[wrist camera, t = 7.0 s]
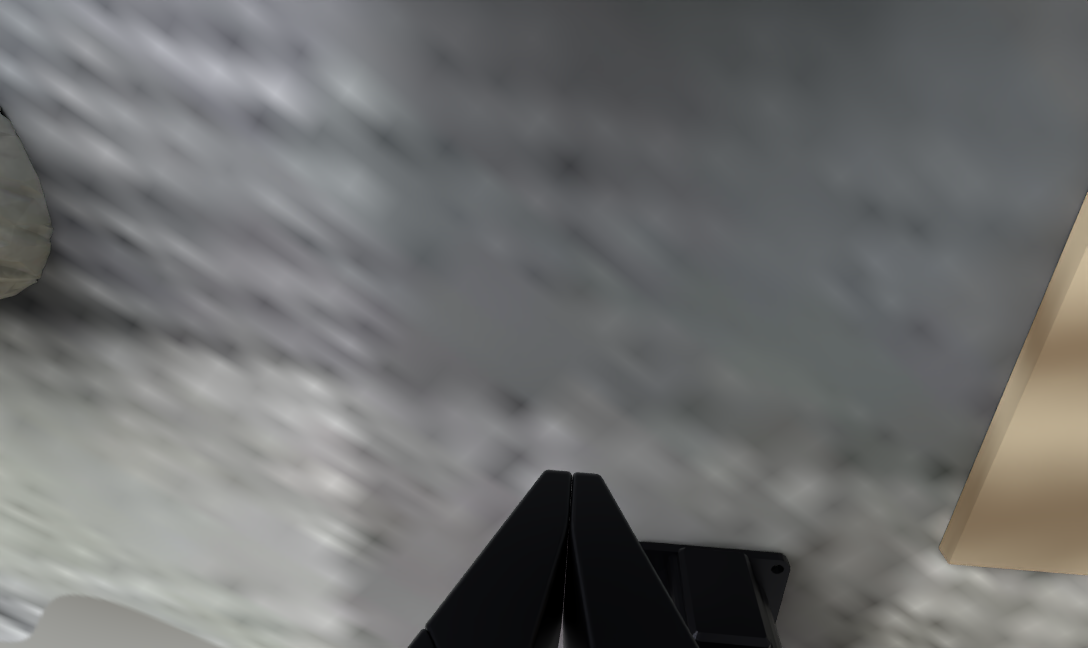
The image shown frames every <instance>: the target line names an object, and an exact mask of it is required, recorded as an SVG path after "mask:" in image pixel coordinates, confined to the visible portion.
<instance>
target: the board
mask: <svg viewBox="0 0 1088 648" xmlns="http://www.w3.org/2000/svg"><path fill="white" fill-rule="evenodd" d="M939 550H940V551H941V553H942V554H943V556H944V557H945V559H946V560H947V562H948V563H949V564H955V565H967V566H979V567H991V568H1004V569H1016V570H1028V571H1041V572H1053V573H1065V574H1077V575H1088V192H1087V195H1086V197H1085V200H1084V202H1083V204H1082V207H1081V209H1080V212H1079V214H1078V216H1077V219H1076V221H1075V224H1074V226H1073V228H1072V231H1071V233H1070V235H1069V238H1068V240H1067V243H1066V245H1065V247H1064V250H1063V252H1062V255H1061V257H1060V259H1059V262H1058V264H1057V267H1056V269H1055V271H1054V274H1053V276H1052V278H1051V281H1050V283H1049V286H1048V288H1047V290H1046V293H1045V295H1044V298H1043V300H1042V302H1041V305H1040V307H1039V310H1038V312H1037V314H1036V317H1035V319H1034V321H1033V324H1032V326H1031V329H1030V331H1029V333H1028V336H1027V338H1026V341H1025V343H1024V345H1023V348H1022V350H1021V353H1020V355H1019V357H1018V360H1017V362H1016V364H1015V367H1014V369H1013V372H1012V374H1011V376H1010V379H1009V381H1008V384H1007V386H1006V388H1005V391H1004V393H1003V396H1002V398H1001V400H1000V403H999V405H998V407H997V410H996V412H995V415H994V417H993V419H992V422H991V424H990V427H989V429H988V431H987V434H986V436H985V439H984V441H983V443H982V446H981V448H980V450H979V453H978V455H977V458H976V460H975V462H974V465H973V467H972V470H971V472H970V474H969V477H968V479H967V482H966V484H965V486H964V489H963V491H962V493H961V496H960V498H959V501H958V503H957V505H956V508H955V510H954V513H953V515H952V517H951V520H950V522H949V525H948V527H947V529H946V532H945V534H944V536H943V539H942V541H941V544H940V546H939Z"/></svg>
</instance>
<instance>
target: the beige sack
mask: <svg viewBox="0 0 1088 648" xmlns="http://www.w3.org/2000/svg"><path fill="white" fill-rule="evenodd" d="M0 109H1V106H0ZM53 230H54V229H53V227H52V226H51V219H50V216H49V213H48V209H47V205H46V201H45V197H44V194H43V190H42V187H41V184H40V181H39V178H38V176H37V174H36V172H35V170H34V168H33V166H32V164H31V162H30V160H29V158H28V156H27V153H26V151H25V149H24V147H23V145H22V143H21V141H20V139H19V137H18V136H16V132H15V130H14V128H13V126H12V124H11V122H10V120H9V119H7V118H6V117H4V116H3V115H1V114H0V299H3V298H7V297H11V296H15V295H17V294H18V293H20V292H21V291H22V290H24V289H25V288H27V287H28V286H30V285H32V284H34V283H37V281H36V279H40V278H41V274H42V270H43V268H44V267H45V264H46V261H47V259H48V256H49V254H50V249H51V243H50V241H49V240H50V237H51V235H52V233H53Z"/></svg>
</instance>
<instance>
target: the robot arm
mask: <svg viewBox="0 0 1088 648" xmlns="http://www.w3.org/2000/svg"><path fill="white" fill-rule="evenodd" d="M571 487H572V491H571ZM570 502H571V505H570ZM569 517H570V519H569ZM568 532H569V534H568ZM567 546H568V548H567ZM566 560H567V563H566ZM775 565H778V566H775ZM789 572H790V565H789V563H788V560H787V558H786V556H784V555H783V554H780V553H774V552H761V551H749V550H737V549H725V548H712V547H700V546H688V545H676V544H663V543H651V542H638V540H637V538H636V536H635V534H634V533H633V531H632V529H631V527H630V526H629V524H628V522H627V520H626V519H625V517H624V515H623V513H622V512H621V510H620V508H619V506H618V505H617V503H616V501H615V499H614V498H613V496H612V494H611V492H610V491H609V489H608V487H607V485H606V484H605V482H604V480H603V479H602V477H601V476H600V475H598V474H592V473H580V472H576V473H574V475H573V477H572V475H571V473H570V472H568V471H556V470H546V471H544V472H543V473H542V475H541V476H540V477H539V478H538V480H537V481H536V482H535V484H534V485H533V486H532V488H531V489H530V490H529V491H528V493H527V494H526V495H525V497H524V498H523V499H522V500H521V502H520V503H519V504H518V506H517V507H516V508H515V510H514V511H513V512H512V513H511V515H510V516H509V517H508V519H507V520H506V521H505V522H504V524H503V525H502V526H501V528H500V529H499V530H498V532H497V533H496V534H495V535H494V537H493V538H492V539H491V541H490V542H489V543H488V545H487V546H486V547H485V548H484V550H483V551H482V552H481V554H480V555H479V556H478V557H477V559H476V560H475V561H474V563H473V564H472V565H471V567H470V568H469V569H468V570H467V572H466V573H465V574H464V576H463V577H462V578H461V579H460V581H459V582H458V583H457V585H456V586H455V587H454V589H453V590H452V591H451V592H450V594H449V595H448V596H447V598H446V599H445V600H444V601H443V603H442V604H441V605H440V607H439V608H438V609H437V611H436V612H435V613H434V614H433V616H432V617H431V618H430V620H429V621H428V622H427V623H426V625H425V629H422V630H421V631H420V632H419V633H418V635H417V636H416V637H415V639H414V640H413V641H412V643H411V644H410V645H409V646H408V648H558V643H559V637H560V631H561V624H562V614H563V647H564V648H782V646H781V643H780V640H779V636H778V633H777V629H776V626H775V623H776V619H777V616H778V612H779V608H780V605H781V601H782V598H783V594H784V590H785V587H786V583H787V580H788V576H789ZM565 574H566V578H565ZM564 588H565V593H564ZM563 602H564V608H563Z"/></svg>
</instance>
